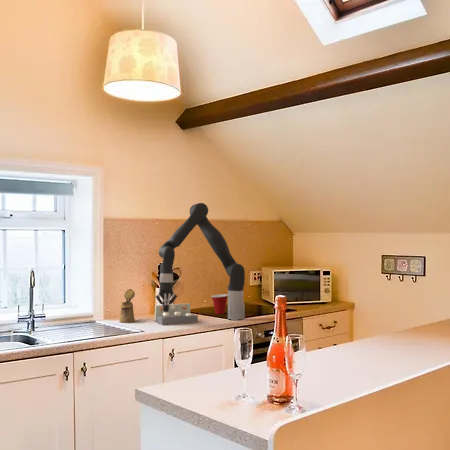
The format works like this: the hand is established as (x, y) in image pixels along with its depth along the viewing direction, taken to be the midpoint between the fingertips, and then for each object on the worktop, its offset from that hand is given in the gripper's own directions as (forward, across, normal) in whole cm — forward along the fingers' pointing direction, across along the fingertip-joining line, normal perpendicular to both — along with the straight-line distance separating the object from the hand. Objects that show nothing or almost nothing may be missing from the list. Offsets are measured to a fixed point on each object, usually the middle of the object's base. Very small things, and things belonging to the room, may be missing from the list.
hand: (165, 311), depth 321 cm
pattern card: (+7, -7, -9) cm, 13 cm away
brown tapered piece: (+7, +17, -17) cm, 25 cm away
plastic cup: (+7, -44, -22) cm, 50 cm away
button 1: (+3, 0, 0) cm, 3 cm away
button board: (+7, -7, 0) cm, 10 cm away
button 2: (+4, -14, 0) cm, 15 cm away
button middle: (+3, -7, 0) cm, 8 cm away
